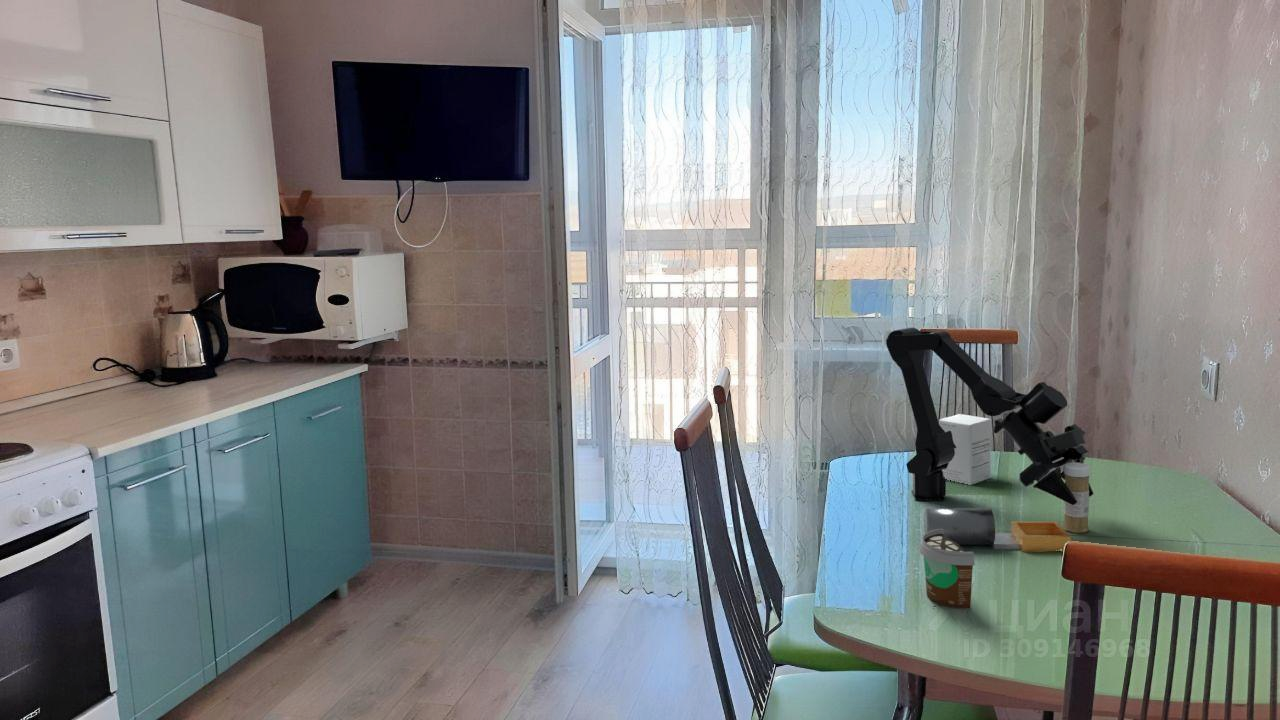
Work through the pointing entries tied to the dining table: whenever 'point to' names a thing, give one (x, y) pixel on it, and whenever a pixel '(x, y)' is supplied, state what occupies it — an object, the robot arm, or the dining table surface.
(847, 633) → the dining table surface
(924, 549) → the food container
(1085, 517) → the sprinkles bottle
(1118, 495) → the dining table surface
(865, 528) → the dining table surface
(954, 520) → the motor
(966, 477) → the supplement box
